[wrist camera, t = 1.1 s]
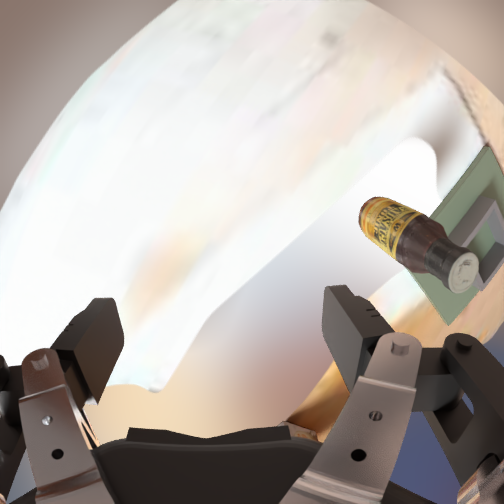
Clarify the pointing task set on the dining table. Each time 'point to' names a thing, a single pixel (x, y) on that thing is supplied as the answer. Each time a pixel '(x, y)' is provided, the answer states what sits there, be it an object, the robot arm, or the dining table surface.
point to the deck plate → (470, 231)
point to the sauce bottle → (418, 243)
